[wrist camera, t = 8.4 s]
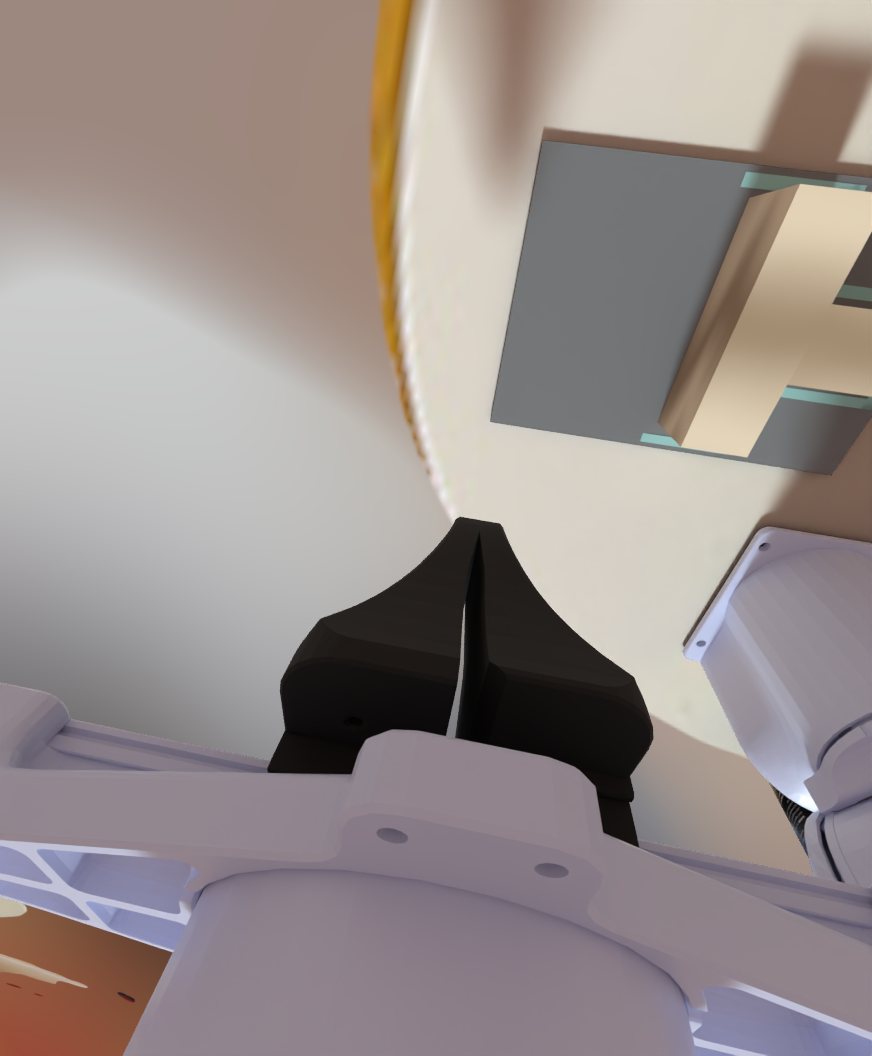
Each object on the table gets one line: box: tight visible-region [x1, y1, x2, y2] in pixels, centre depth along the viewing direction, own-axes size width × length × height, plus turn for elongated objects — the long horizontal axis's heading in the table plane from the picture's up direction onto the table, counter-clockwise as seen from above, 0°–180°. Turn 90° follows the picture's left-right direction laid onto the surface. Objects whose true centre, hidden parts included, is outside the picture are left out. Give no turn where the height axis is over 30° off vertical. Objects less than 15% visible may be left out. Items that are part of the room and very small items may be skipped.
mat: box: [490, 140, 872, 475], centre depth 17 cm, size 10×16×1 cm, turn 84°
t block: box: [658, 184, 872, 457], centre depth 15 cm, size 8×7×3 cm
